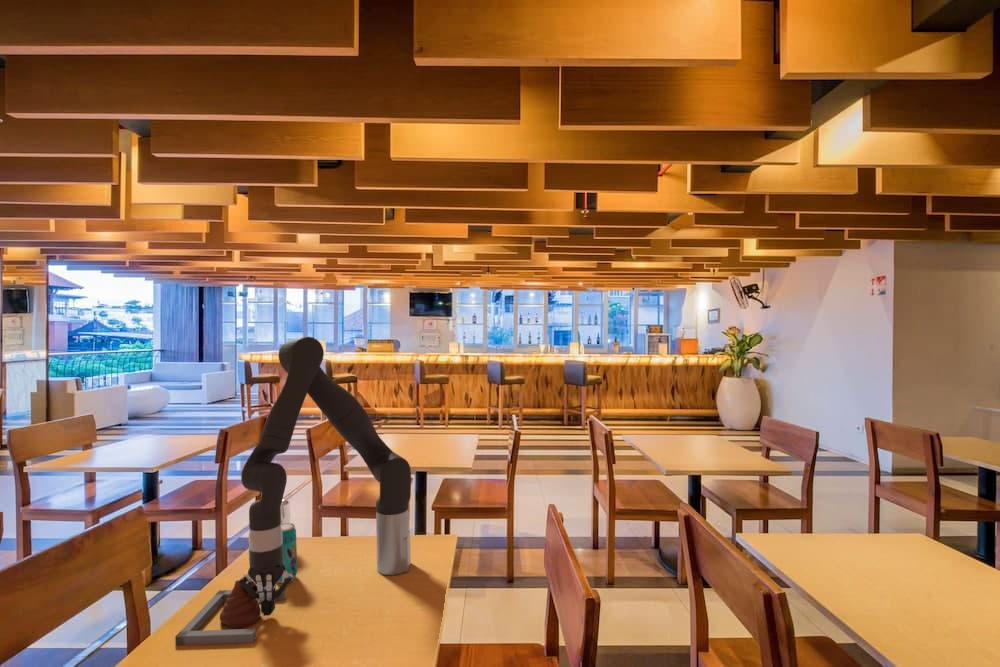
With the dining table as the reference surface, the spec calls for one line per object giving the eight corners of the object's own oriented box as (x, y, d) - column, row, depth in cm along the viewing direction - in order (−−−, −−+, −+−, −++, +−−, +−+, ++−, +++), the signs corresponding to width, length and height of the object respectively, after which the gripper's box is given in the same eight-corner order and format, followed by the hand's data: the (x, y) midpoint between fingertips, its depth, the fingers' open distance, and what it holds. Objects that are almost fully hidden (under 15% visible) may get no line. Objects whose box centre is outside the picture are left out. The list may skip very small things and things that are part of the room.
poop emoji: (212, 621, 128) (211, 583, 128) (245, 605, 135) (244, 569, 135) (236, 634, 123) (235, 594, 123) (269, 616, 130) (268, 578, 130)
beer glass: (296, 548, 169) (295, 501, 168) (278, 557, 162) (277, 508, 162) (280, 544, 172) (278, 498, 171) (262, 553, 165) (261, 505, 165)
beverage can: (289, 585, 145) (288, 531, 145) (270, 583, 146) (269, 529, 146) (301, 575, 151) (300, 523, 150) (283, 573, 152) (281, 521, 151)
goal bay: (285, 596, 140) (285, 588, 139) (252, 642, 120) (252, 634, 120) (219, 598, 139) (219, 590, 139) (175, 645, 119) (175, 636, 119)
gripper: (298, 536, 133) (300, 604, 133) (245, 538, 132) (247, 606, 133) (288, 549, 125) (290, 621, 126) (231, 551, 125) (233, 623, 125)
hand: (268, 613), depth 129 cm, fingers closed
